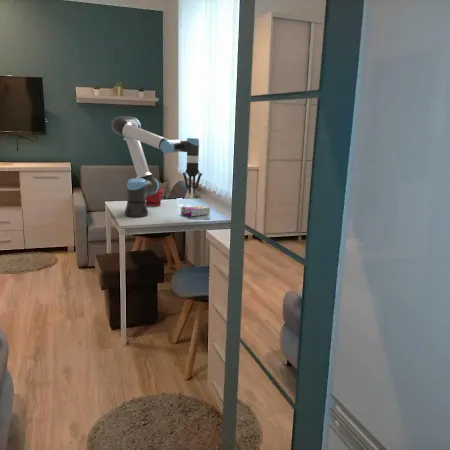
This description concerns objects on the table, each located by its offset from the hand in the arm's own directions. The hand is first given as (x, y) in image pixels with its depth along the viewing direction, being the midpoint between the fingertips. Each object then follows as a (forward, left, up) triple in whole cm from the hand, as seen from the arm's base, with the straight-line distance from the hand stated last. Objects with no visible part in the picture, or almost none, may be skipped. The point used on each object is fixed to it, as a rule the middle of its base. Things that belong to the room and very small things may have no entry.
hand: (191, 198), depth 284 cm
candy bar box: (-3, +2, -9) cm, 10 cm away
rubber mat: (+5, -1, -12) cm, 13 cm away
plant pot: (-22, +39, -13) cm, 47 cm away
